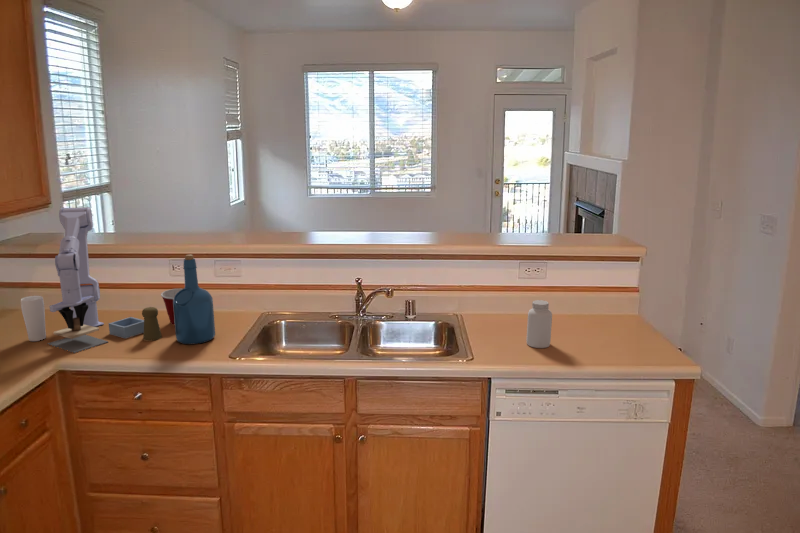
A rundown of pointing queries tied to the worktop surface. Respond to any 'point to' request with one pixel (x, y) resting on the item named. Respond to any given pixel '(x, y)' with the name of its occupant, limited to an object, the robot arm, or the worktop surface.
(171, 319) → the plastic cup
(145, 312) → the olive green shaker
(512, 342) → the worktop surface
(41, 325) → the drinking glass
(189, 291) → the wine bottle
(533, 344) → the pill bottle
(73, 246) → the robot arm
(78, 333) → the lid
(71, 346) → the mat
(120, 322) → the dish
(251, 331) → the worktop surface
